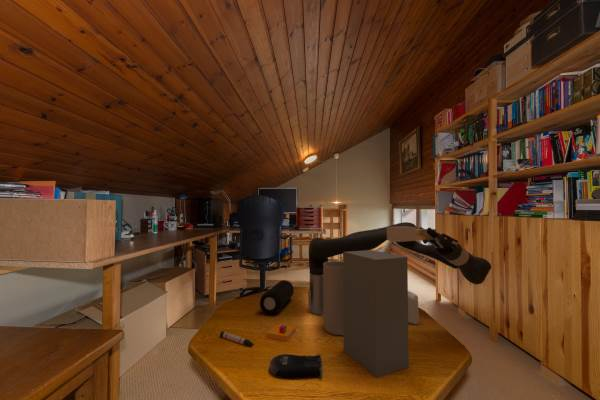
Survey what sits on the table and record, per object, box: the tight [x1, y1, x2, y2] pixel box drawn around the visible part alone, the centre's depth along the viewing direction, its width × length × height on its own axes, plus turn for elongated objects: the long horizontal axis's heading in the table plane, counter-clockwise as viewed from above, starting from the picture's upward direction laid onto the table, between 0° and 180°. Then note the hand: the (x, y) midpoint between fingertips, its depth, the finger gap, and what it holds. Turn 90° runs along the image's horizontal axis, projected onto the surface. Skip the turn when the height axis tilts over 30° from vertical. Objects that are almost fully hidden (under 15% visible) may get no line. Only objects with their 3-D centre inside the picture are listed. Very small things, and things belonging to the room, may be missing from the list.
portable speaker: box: [259, 279, 295, 315], centre depth 128 cm, size 26×10×10 cm, turn 165°
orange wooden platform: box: [266, 323, 296, 342], centre depth 98 cm, size 8×8×4 cm
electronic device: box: [268, 353, 324, 379], centre depth 77 cm, size 9×6×15 cm
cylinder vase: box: [322, 260, 343, 336], centre depth 104 cm, size 12×12×25 cm
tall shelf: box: [342, 249, 410, 378], centre depth 83 cm, size 12×16×32 cm
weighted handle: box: [386, 226, 437, 243], centre depth 92 cm, size 19×5×4 cm, turn 115°
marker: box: [219, 330, 255, 347], centre depth 93 cm, size 15×2×2 cm, turn 59°
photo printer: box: [408, 290, 420, 325], centre depth 112 cm, size 10×4×12 cm, turn 39°
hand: (423, 229), depth 94 cm, fingers closed on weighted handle, 3 cm apart
